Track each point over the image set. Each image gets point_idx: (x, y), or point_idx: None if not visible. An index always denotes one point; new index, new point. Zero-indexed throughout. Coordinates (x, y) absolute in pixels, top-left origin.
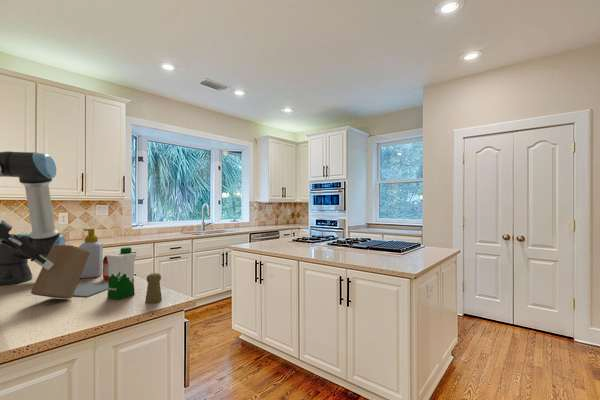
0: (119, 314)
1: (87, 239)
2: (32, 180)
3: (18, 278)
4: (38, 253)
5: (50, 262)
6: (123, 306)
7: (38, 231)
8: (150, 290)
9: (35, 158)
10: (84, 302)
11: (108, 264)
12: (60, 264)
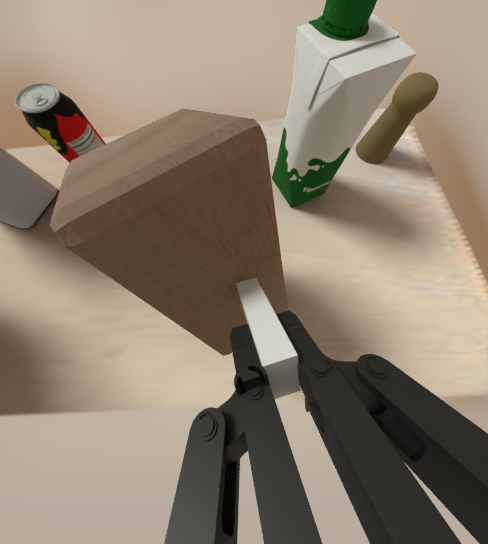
0: (421, 210)
1: None
2: None
3: None
4: (396, 373)
5: (262, 292)
6: (374, 196)
7: None
8: (403, 132)
9: None
10: (294, 248)
11: (344, 122)
12: (271, 255)
